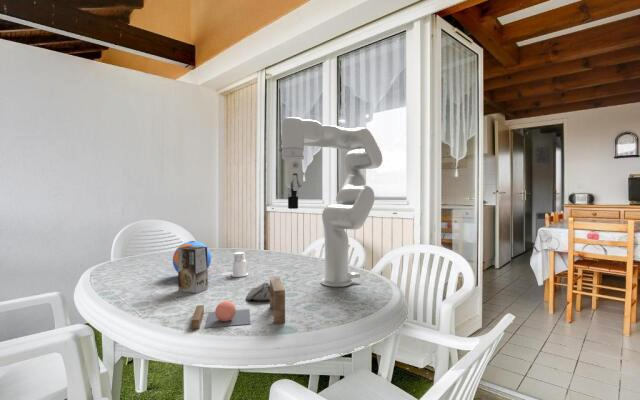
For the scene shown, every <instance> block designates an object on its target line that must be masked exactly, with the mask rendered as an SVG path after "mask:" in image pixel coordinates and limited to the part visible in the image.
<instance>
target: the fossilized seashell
mask: <svg viewBox="0 0 640 400" xmlns="http://www.w3.org/2000/svg"><path fill="white" fill-rule="evenodd" d="M252 299H253V300H254V301H259V302H261V301H262V302H266V301H270V282H269V283H268V282H263V283H262V284H261V283H260V284H259V286H256V287H253V288H251V290H250V291H249V292H248V294H247V295H246V297H245V300H246V302H247V301H251V300H252Z"/></svg>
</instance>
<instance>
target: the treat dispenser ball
mask: <svg viewBox="0 0 640 400" xmlns="http://www.w3.org/2000/svg"><path fill="white" fill-rule="evenodd" d="M185 246H201V247H207V246H206V245H205V244H204V243H202V242H200V241H197V240H196V241H195V240H190V241H187V242H186V241H185V242H184V243H181V244H180V245H179V246H178V247H177V248H176V249H175V251H174V253H173V255H172V265H173V268H174V270H175V271H176V272H177V273H178V248H182V247H185ZM211 262H212V256H211V252H210V249H209V248H208V247H207V268H208V269H209V267H210V265H211Z"/></svg>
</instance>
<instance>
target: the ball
mask: <svg viewBox="0 0 640 400" xmlns="http://www.w3.org/2000/svg"><path fill="white" fill-rule="evenodd" d="M236 310H237V308H236V306H235V305H234V303H233V302H231V301H229V300H223V301H221V302H219V303H218V305H217V306H216V307H215V311H214V312H215V314H216V317H217V318H218V319H219V320H220V321H222V322H227V321H230V320H231V319H232V318H233V317H234V316H235V313H236Z"/></svg>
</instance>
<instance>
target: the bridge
mask: <svg viewBox="0 0 640 400" xmlns="http://www.w3.org/2000/svg"><path fill="white" fill-rule="evenodd" d="M269 285H270V300H269V308H270V310H273V323H274V325H277V324H281V325H282V324H286V289H285V287H284V285H283V282H282V280H281V279H280V277H270V278H269Z"/></svg>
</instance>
